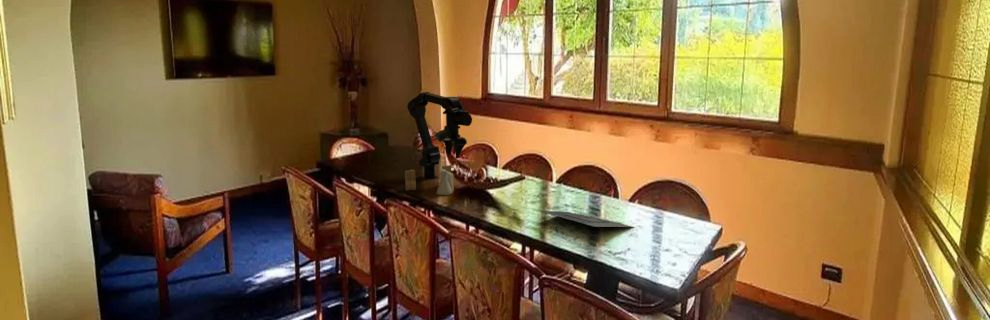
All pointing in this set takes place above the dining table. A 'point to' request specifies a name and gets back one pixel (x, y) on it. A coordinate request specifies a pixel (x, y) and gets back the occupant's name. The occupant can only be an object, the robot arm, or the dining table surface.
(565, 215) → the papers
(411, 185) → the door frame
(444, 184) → the flask
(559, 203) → the dining table surface
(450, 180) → the door
